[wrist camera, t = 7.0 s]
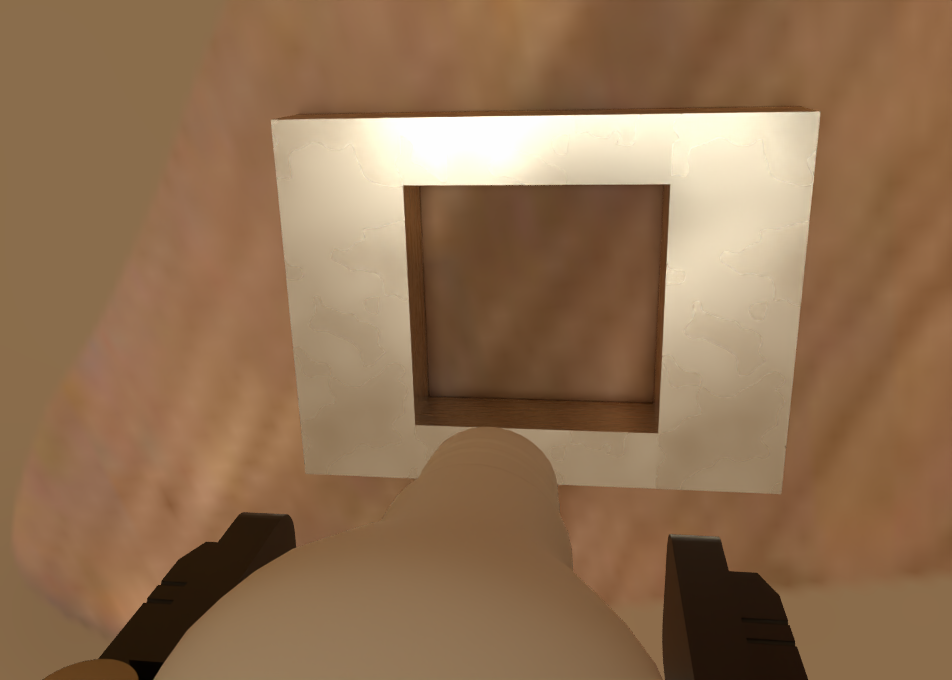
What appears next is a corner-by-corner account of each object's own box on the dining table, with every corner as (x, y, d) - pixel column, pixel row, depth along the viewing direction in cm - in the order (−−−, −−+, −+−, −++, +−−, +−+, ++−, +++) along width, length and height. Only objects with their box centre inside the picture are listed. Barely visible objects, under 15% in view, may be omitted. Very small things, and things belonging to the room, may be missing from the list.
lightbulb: (314, 548, 18) (-85, 1255, 7) (380, 276, 15) (-52, 728, 5) (597, 639, 17) (597, 1498, 7) (703, 374, 15) (923, 1052, 5)
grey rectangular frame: (800, 106, 26) (820, 111, 24) (766, 459, 30) (781, 493, 27) (298, 114, 28) (270, 119, 26) (326, 442, 32) (305, 473, 30)
